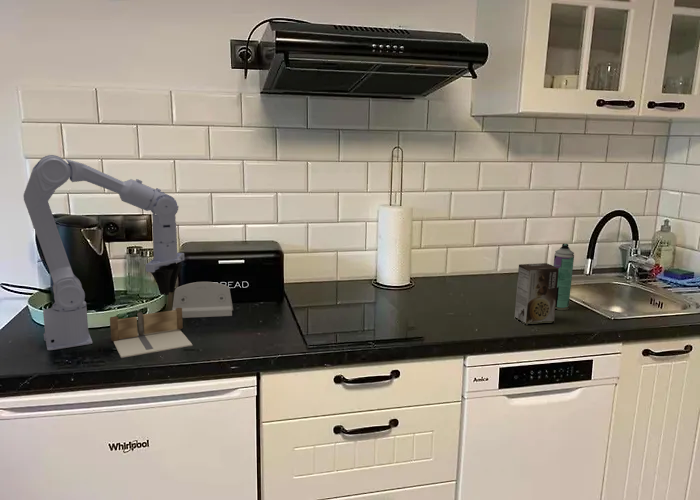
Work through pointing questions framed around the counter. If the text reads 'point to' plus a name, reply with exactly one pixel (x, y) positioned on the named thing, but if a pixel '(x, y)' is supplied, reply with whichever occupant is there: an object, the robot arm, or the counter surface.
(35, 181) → the robot arm
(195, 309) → the hinge
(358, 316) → the counter surface
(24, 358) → the counter surface
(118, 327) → the fence fixed
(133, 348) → the card
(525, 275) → the coffee box
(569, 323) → the counter surface
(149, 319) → the panel
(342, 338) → the counter surface
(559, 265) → the spray can
